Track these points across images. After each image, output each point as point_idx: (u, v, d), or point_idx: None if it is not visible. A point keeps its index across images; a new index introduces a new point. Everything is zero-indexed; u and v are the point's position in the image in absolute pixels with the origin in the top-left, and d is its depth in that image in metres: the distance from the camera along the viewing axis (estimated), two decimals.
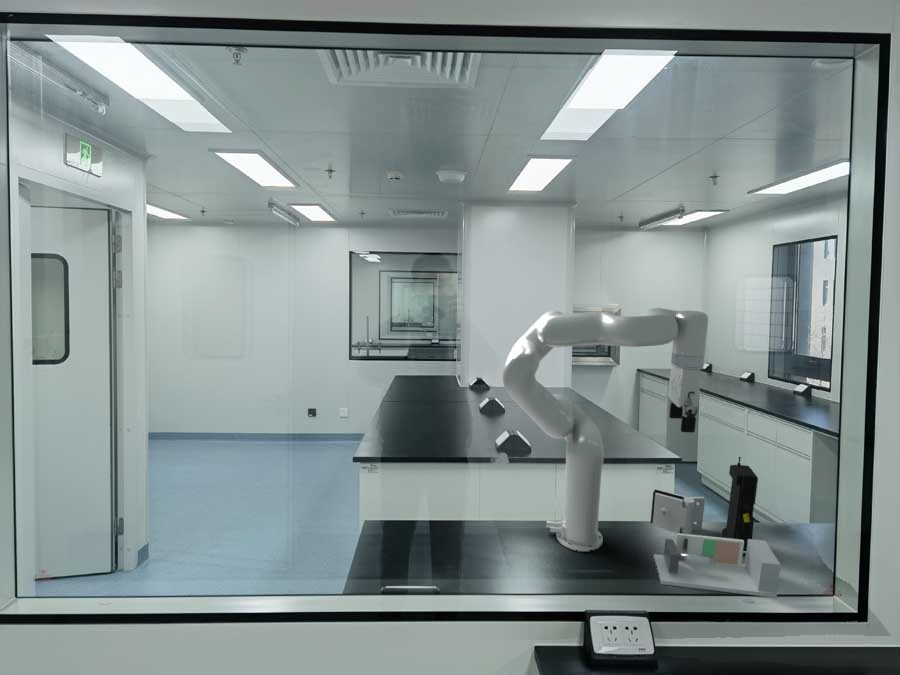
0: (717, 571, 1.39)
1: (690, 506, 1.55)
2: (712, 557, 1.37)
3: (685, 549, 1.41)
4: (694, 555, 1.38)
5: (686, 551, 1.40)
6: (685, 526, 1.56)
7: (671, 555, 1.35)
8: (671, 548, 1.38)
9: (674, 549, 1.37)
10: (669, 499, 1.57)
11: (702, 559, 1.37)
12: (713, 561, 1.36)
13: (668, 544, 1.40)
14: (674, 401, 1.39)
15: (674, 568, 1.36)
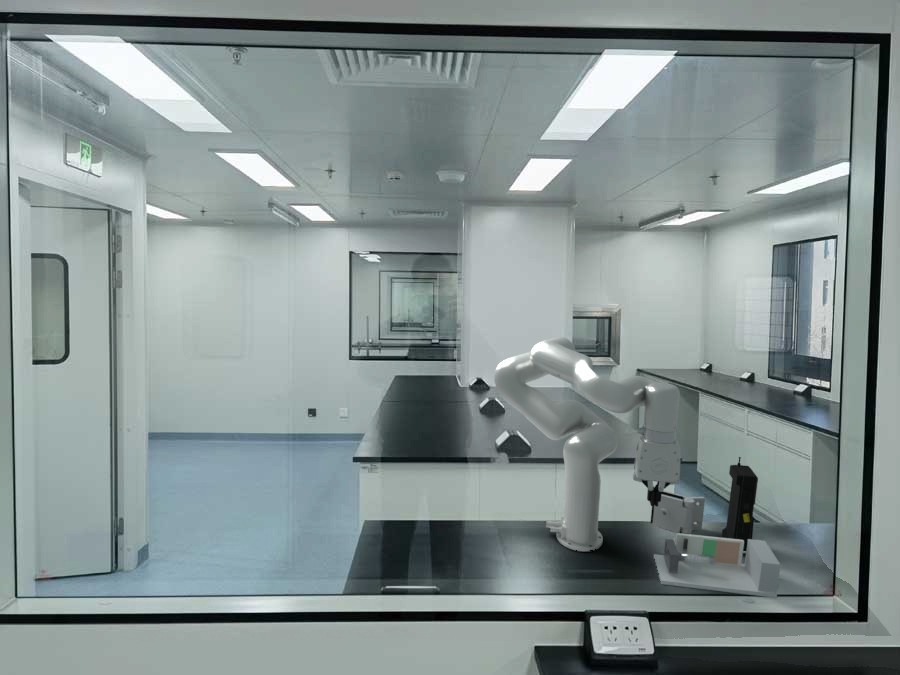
0: (717, 571, 1.39)
1: (690, 506, 1.55)
2: (712, 557, 1.37)
3: (685, 549, 1.41)
4: (694, 555, 1.38)
5: (686, 551, 1.40)
6: (685, 526, 1.56)
7: (671, 555, 1.35)
8: (671, 548, 1.38)
9: (674, 549, 1.37)
10: (669, 499, 1.57)
11: (702, 559, 1.37)
12: (713, 561, 1.36)
13: (668, 544, 1.40)
14: (665, 479, 1.32)
15: (674, 568, 1.36)
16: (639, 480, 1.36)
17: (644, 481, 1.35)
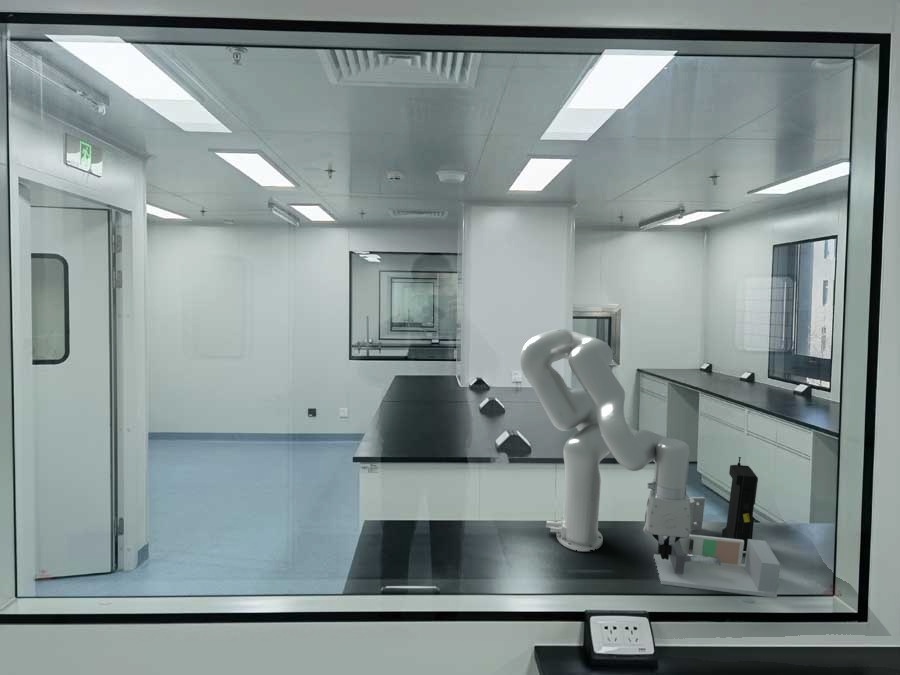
0: (717, 571, 1.39)
1: (690, 506, 1.55)
2: (718, 558, 1.37)
3: (690, 549, 1.41)
4: (700, 556, 1.37)
5: (692, 552, 1.40)
6: None
7: (677, 556, 1.35)
8: (677, 548, 1.38)
9: (680, 550, 1.37)
10: None
11: (708, 560, 1.36)
12: (719, 562, 1.36)
13: (674, 545, 1.39)
14: (676, 534, 1.34)
15: (680, 569, 1.36)
16: (650, 533, 1.38)
17: (655, 535, 1.38)
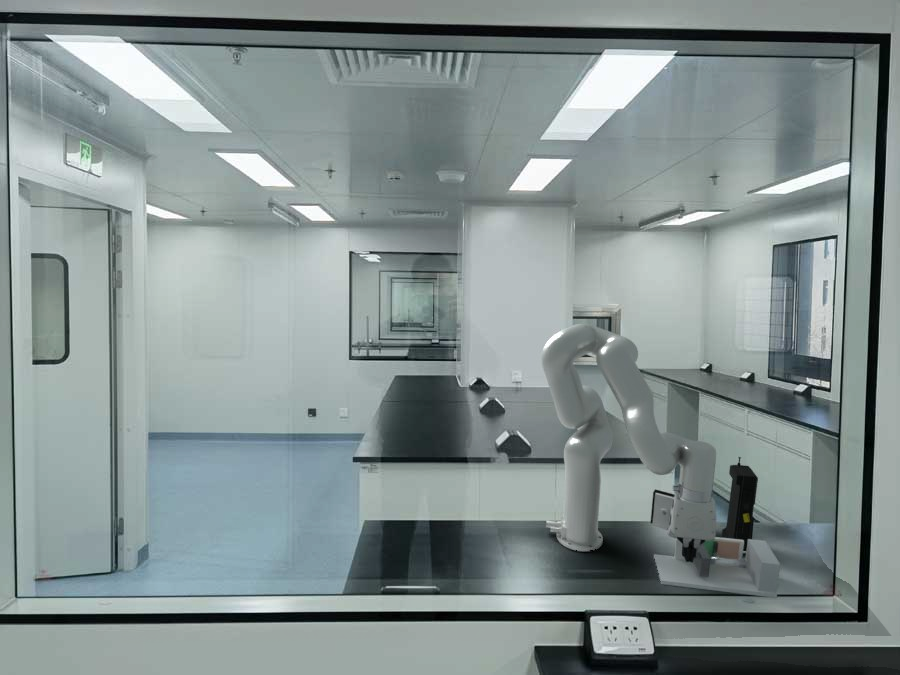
0: (717, 571, 1.39)
1: None
2: (743, 560, 1.36)
3: (715, 552, 1.40)
4: (725, 558, 1.36)
5: (716, 554, 1.39)
6: None
7: (702, 558, 1.34)
8: (702, 551, 1.37)
9: (705, 552, 1.36)
10: (669, 499, 1.57)
11: (733, 563, 1.35)
12: (745, 565, 1.35)
13: (698, 547, 1.38)
14: (701, 537, 1.33)
15: (705, 572, 1.34)
16: (674, 536, 1.37)
17: (679, 537, 1.37)
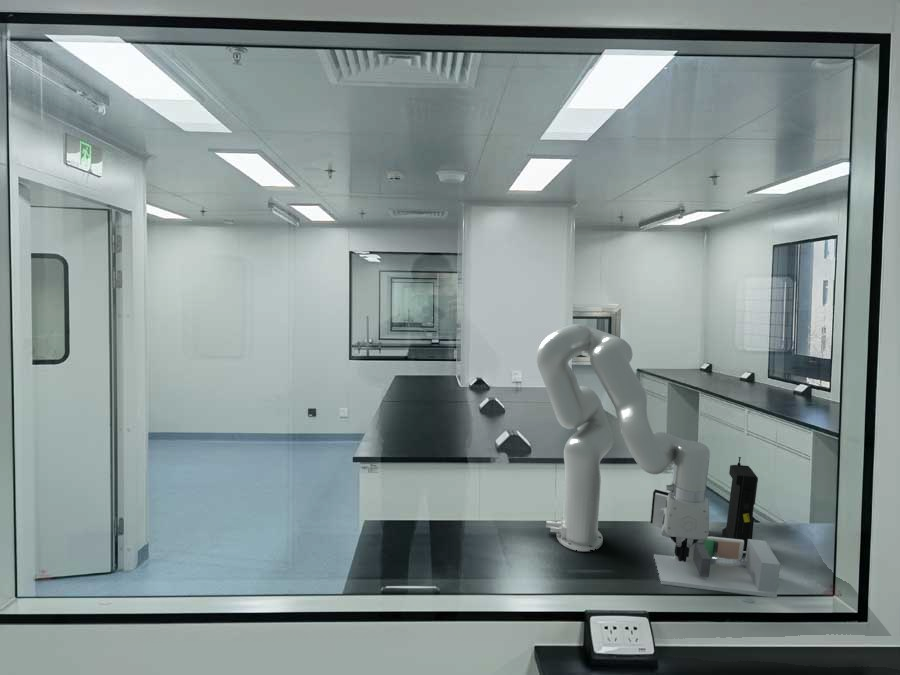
0: (717, 571, 1.39)
1: None
2: (744, 560, 1.35)
3: (715, 552, 1.40)
4: (725, 558, 1.36)
5: (717, 554, 1.39)
6: None
7: (702, 558, 1.34)
8: (702, 551, 1.37)
9: (705, 552, 1.36)
10: None
11: (734, 563, 1.35)
12: (745, 565, 1.35)
13: (698, 547, 1.38)
14: (694, 536, 1.34)
15: (705, 572, 1.34)
16: (667, 536, 1.37)
17: (672, 537, 1.37)
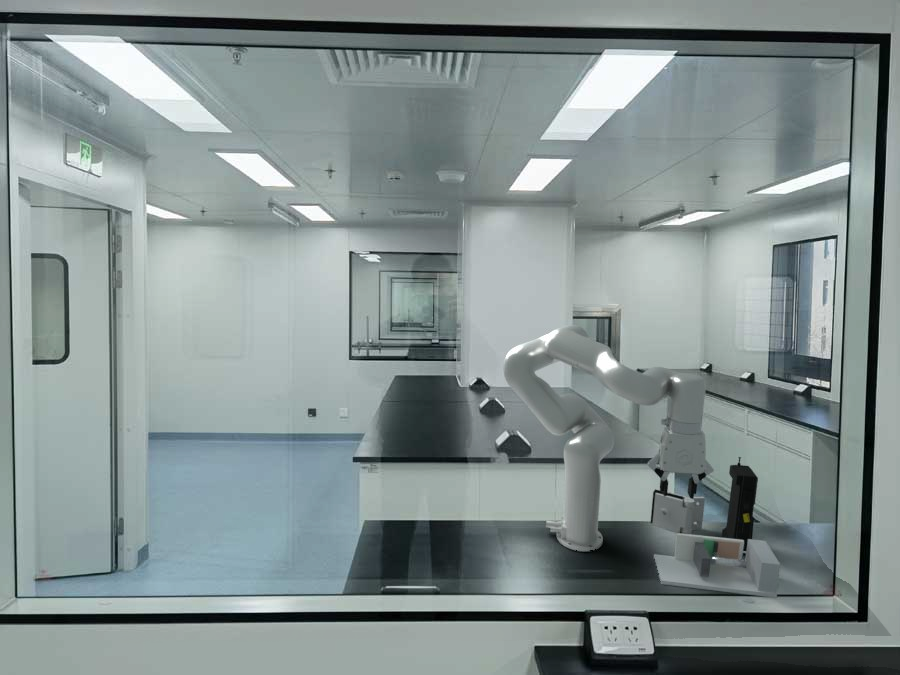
0: (717, 571, 1.39)
1: (690, 505, 1.55)
2: (744, 560, 1.35)
3: (715, 552, 1.40)
4: (725, 558, 1.36)
5: (717, 554, 1.39)
6: (685, 526, 1.56)
7: (702, 558, 1.34)
8: (702, 551, 1.37)
9: (705, 552, 1.36)
10: (669, 499, 1.57)
11: (734, 563, 1.35)
12: (745, 565, 1.35)
13: (698, 547, 1.38)
14: (690, 471, 1.31)
15: (705, 572, 1.34)
16: (653, 468, 1.35)
17: (657, 471, 1.34)
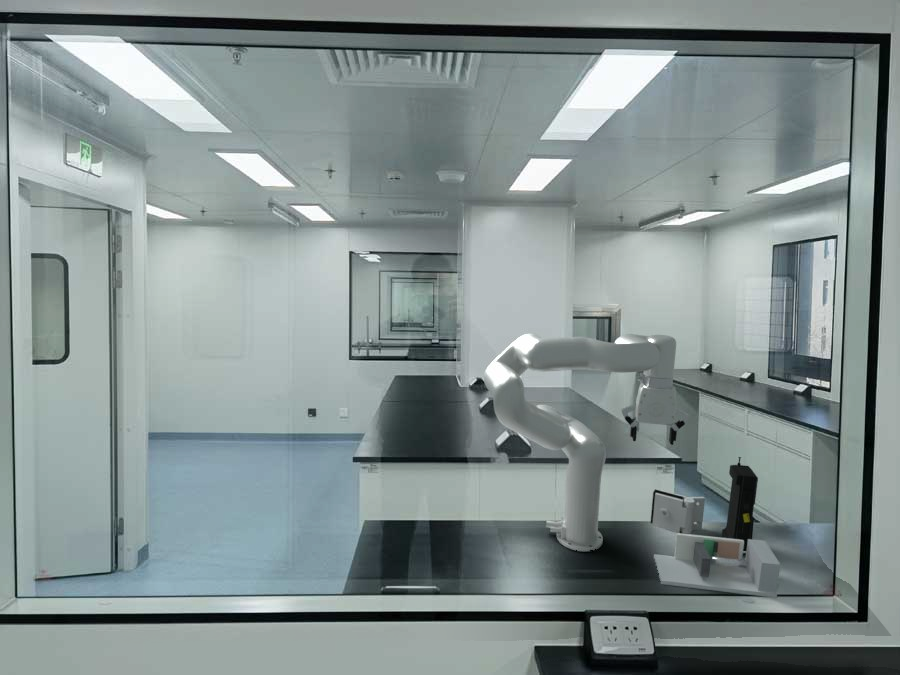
0: (717, 571, 1.39)
1: (690, 506, 1.55)
2: (744, 560, 1.35)
3: (715, 552, 1.40)
4: (725, 558, 1.36)
5: (717, 554, 1.39)
6: (685, 526, 1.56)
7: (702, 558, 1.34)
8: (702, 551, 1.37)
9: (705, 552, 1.36)
10: (669, 499, 1.57)
11: (734, 563, 1.35)
12: (745, 565, 1.35)
13: (698, 547, 1.38)
14: (662, 422, 1.47)
15: (705, 572, 1.34)
16: (624, 415, 1.51)
17: (627, 418, 1.51)
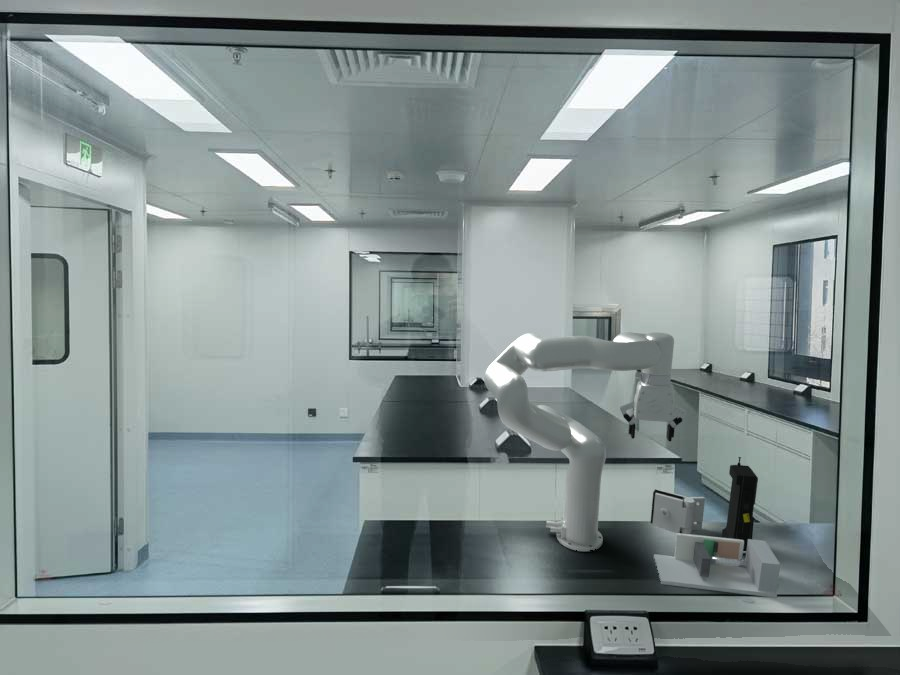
0: (717, 571, 1.39)
1: (690, 506, 1.55)
2: (744, 560, 1.35)
3: (715, 552, 1.40)
4: (725, 558, 1.36)
5: (717, 554, 1.39)
6: (685, 526, 1.56)
7: (702, 558, 1.34)
8: (702, 551, 1.37)
9: (705, 552, 1.36)
10: (669, 499, 1.57)
11: (734, 563, 1.35)
12: (745, 565, 1.35)
13: (698, 547, 1.38)
14: (661, 418, 1.48)
15: (705, 572, 1.34)
16: (623, 412, 1.52)
17: (625, 416, 1.52)
